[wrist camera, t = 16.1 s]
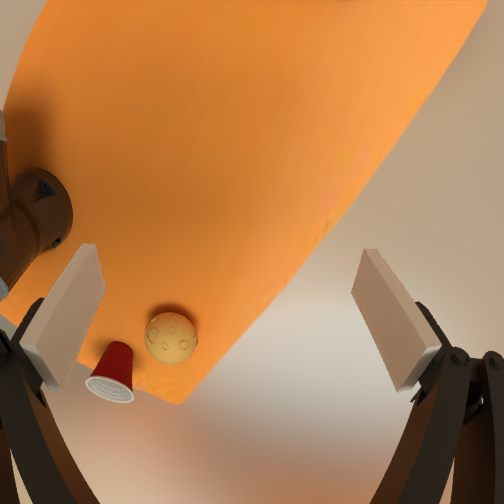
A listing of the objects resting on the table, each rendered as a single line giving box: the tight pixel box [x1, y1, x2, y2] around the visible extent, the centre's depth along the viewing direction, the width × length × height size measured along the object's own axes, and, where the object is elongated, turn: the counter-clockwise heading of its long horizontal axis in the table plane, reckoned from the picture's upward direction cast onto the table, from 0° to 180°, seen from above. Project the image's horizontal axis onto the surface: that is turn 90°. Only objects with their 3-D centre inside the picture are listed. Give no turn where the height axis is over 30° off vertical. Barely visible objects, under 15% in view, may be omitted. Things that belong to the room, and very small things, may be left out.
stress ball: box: [145, 312, 198, 365], centre depth 53 cm, size 10×10×10 cm
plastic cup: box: [86, 342, 134, 403], centre depth 57 cm, size 11×11×12 cm
